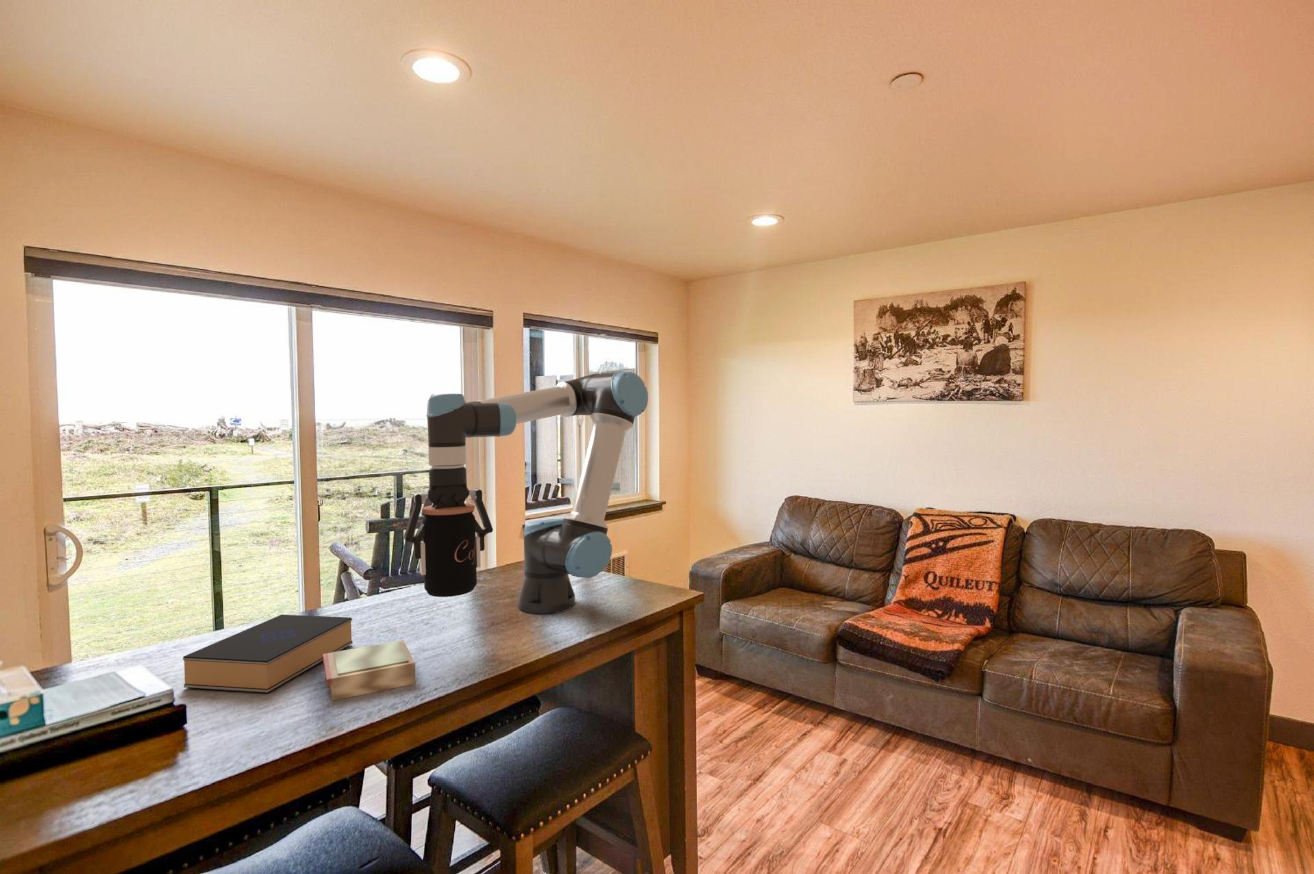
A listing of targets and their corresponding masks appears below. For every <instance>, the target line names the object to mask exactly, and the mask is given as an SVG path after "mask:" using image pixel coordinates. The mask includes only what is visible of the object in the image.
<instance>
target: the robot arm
mask: <svg viewBox="0 0 1314 874" xmlns="http://www.w3.org/2000/svg"><path fill="white" fill-rule="evenodd" d="M648 403H649V392H648V388H647V387H646V385H645V382H644V380H643V379H642V377H640V376H639V374H636V373H635V372H631V371H622V370H618V371H615V372H604V373H592V374H587V375H585V376H581V377H577V378H575V379H574V378H573V379H570V380H565V381H561V382H559V383H557V384H556V386H553V387H548V388H543V389H536V390H531V391H530V390H529V391H526V392H520V393H514V394H508V395H501V396H498V397H491V398H485V399H480V400H476V401H468V402H466V400H465V396H464V395H463V394H462V393H433V394H430V395H429V396H428V397H427V404H426V419H427V439H428V441H427V443H428V445H427V446H428V465H429V466H430V468H429V470H428V481H429V484H428V485H429V487H428V491H427V492H426V493H425V492H423V493H418V492H415V493H414V494H413V505H412V509H411V512H410V515H409V519H408V522H407V524H406V528H405V532H404V535H403V540H405V541H406V542H407V543H412V544H413V557H414V558H415V560H418V561H419V568H418V569H419V574H420V575H421V576H424V575H426V564H425V543H424V542H423V538H424V536H425V524H422V523H421V524H420V526H419V528H418V529H417V531H416V532H415V530H416V526H417V523H418V520H419V517H420V514H421V511H422V508H423V507H422V506H423V504H426V500H427V499H428V500H429V501H430V502H431V505H432V506H431V505H430V506H431V508H432V507H435V508H434V509H441V508H449V507H465V506H466V505H465V503H466V502H465V501H466V500H467V499H468V497H469V496H470V498H471V499H473V502H474V505H475V508H476V509H477V512H478V515H479V518H480V520H481V521H480V522H481V524H482V526H483V527H482V526H481V525H480V523H478V521H477V519H476V518H475V535H476V569H477V568H481V552H483V551H484V550H485V549H486V548H485V546H486V545H485V537H486V535H488V534H490V533H492V532H493V531H494V529H493V526H492V523H491V520H490V517H489V514H488V512H487V509H486V507H485V503H484V500H483V490H482V489H480V488H475V489H468V486H467V485H468V482H467V468H466V466H464V465H466V464H467V452H466V438H492V437H497V438H500V437H504V436H505V437H506V436H510V435H511V434H513V433H514V431H515V429H516V427H517V425H519V424H522V423H527V422H532V421H537V420H541V419H546V418H552V417H557V416H560V415H561V416H563V417H564V418H568V417H573V416H589V417H590V419H591V421H592V423H593V426H592V431H591V433H590V438H589V440H588V441H589V442H588V447H587V449H586V453H585V458H584V461H583V466H582V470H581V473H580V476H579V481H578V485H577V490H576V493H575V497H574V500H573V504H572V508H571V511H570V513H568V514H567V515H565V516H564V517H563V518H562V517H561V518H549V519H548V518H547V519H541V520H539V519H538V520H533V521H529V522H527V523H526V524H524V529H523V537H522V538H523V559H524V560H523V561H524V562H523V564H524V568H523V569H524V571H523V572H524V576H523V577H524V579H523V582H522V585H521V588H520V591H519V594H518V598H517V608H518V609H519V610H520V611H522V612H525V613H530V614H554V613H560V612H563V611H567V610H570V609H572V608H573V607H574V606H576V594H575V591H574V589H573V585H572V582H571V578H570V576H572V577H576V578H583V579H590V578H591V579H592V578H594V577H596V576H598V575H599V574H600V573H602V572H603V571H604V570H605V569H606V568H607V566H608V565H609V563H610V561H611V558H612V555H613V545H612V544H611V539H610V538H609V537H608V535H607V534H608V530H609V526H608V524H607V523H606V522H605V521H606V520H605V518H606V513H607V509H608V504H609V502H610V501H609V500H610V497H611V493H612V489H613V485H614V481H615V476H616V472H617V469H618V465H619V460H620V457H621V452H622V448H623V444H624V439H625V436H626V432H627V431H628V430H630V429H631V428H633V427H634V423H635V418H636V417H638V416H640V415H642V413H644V412H645V411H646V409H647V407H648ZM414 532H415V534H414ZM569 575H570V576H569Z"/></svg>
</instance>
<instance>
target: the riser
mask: <svg viewBox="0 0 1314 874" xmlns="http://www.w3.org/2000/svg"><path fill="white" fill-rule="evenodd" d="M407 646H408V645H406V643H405V641H404V640H403V639H402V640H396V641H391V642H385V643H380V644H373V645H367V646H362V647H356V648H351V649H345V650H344V649H342V650H341V651H338V652H332V653H326V654H323V661H322V662H323V667H324V675H325V676H324V677H325V682H326V683H325V684H326V686H327V687H329V690H330V695H331V700H332V702H333V701H337V700H343V699H348V698H352V697H357V696H362V695H363V696H364V695H368V694H372V693H376V692H380V691H386V690H392V689H395V688H396V689H397V688H401V687H406V686H410V685H414V684H416V662H415V660H414V658H413V656H412V653H410V650H409V648H408V647H407Z"/></svg>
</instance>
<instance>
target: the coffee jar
mask: <svg viewBox="0 0 1314 874" xmlns="http://www.w3.org/2000/svg"><path fill="white" fill-rule="evenodd" d="M464 503H465V505H466V506H465V507H449V508H441V509H434V508H435V507H432V508H431V506H432V505H433V504H431V505H427V506H424V507H422V508H421V511H422V514H423V515H424V518H423V519H422V521H421V522H422V523H421V524H425V536H424V538H423V539H422V541H423V542H424V543H425V564H426V575H423V585H424V586H423V587H424V590H425V591H426V592H427V594H428V595H429V596H431V597H436V598H448V597H449V598H451V597H457V596H462V595H463V596H464V595H467V594H469V593H472V591H473V590H475V587H476V586H477V585H478V583H477V582H478V581H477V573H478V572H477V567H476V535H477V534H476V532H475V519H476V516H475V515H474V511H475V508H476V505H475V504H473V503H466V502H464Z"/></svg>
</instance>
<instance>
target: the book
mask: <svg viewBox="0 0 1314 874" xmlns="http://www.w3.org/2000/svg"><path fill="white" fill-rule="evenodd" d="M352 622H353V617H345V616H321V615H302V614H301V615H300V614H279V615H277V616H275V617H273V618H271V619H268V620H266V621H263V622H261V623H258V624H257V625H254V626H252V627H249V628H247V629H244V630H241V631H240V632H237V633H235V634H233V635H230V636H228V637H225V638H223V639H221V640H219V641H216V642H214V643H212V644H210V645H207V646H204V647H203V648H200V649H197V650H195V651H193V652H191V653H188V654H185V655H184V656H182V661H184V662H183V664H184V665H183V666H184V671H183V672H184V684H183V688H184V689H200V690H201V689H202V690H218V691H219V690H220V691H234V692H235V691H237V692H247V693H248V692H251V693H268V694H269V693H271V692H272V691H273V690H276V689H277V688H279V687H280V686H282V685H283V684H286V683H287V682H289V681H291V680H292V679H294V678H296V677H297V676H299V675H301V674H303V673H304V672H306V671H307V670H309V669H312V668H313V667H314V666H316V665H318V664H321V662H323V654H326V653H332V652H338V651H343V650H344V649H346V648H347V647H349V646H352V645H353V642H354V641H353V640H352Z"/></svg>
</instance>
